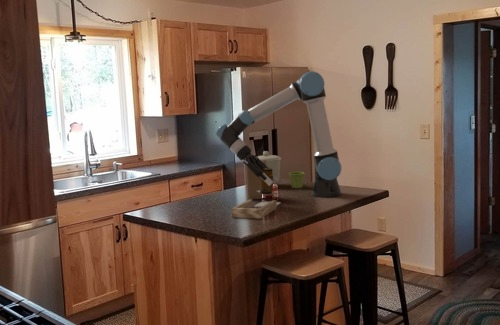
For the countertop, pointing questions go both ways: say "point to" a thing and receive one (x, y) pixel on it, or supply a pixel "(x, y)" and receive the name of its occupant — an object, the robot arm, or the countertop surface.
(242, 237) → the countertop surface
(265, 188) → the condiment
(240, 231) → the countertop surface
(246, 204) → the open wooden frame
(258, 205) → the trivet
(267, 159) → the canister
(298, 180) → the plant pot
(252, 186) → the block
